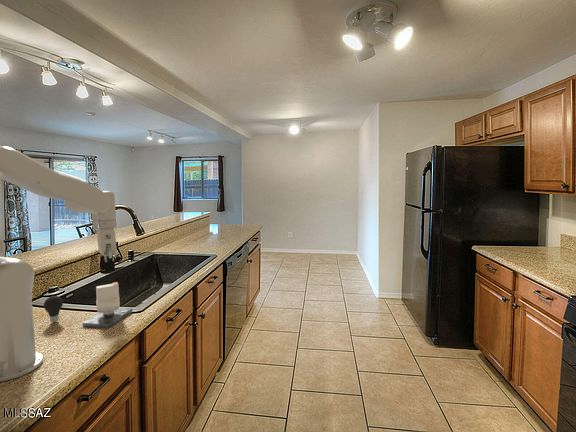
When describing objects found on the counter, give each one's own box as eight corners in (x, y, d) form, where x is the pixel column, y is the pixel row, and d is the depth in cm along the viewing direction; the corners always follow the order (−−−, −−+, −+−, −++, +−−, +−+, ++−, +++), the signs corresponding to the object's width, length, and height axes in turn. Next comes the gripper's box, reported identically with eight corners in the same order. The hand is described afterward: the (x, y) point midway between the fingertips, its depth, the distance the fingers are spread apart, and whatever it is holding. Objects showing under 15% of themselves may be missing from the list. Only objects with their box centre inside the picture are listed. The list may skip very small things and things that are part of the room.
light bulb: (67, 319, 115) (66, 294, 114) (55, 326, 109) (53, 299, 108) (54, 318, 115) (52, 293, 114) (40, 325, 110) (39, 298, 109)
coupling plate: (108, 328, 108) (108, 317, 108) (82, 326, 109) (82, 316, 109) (132, 312, 122) (131, 302, 122) (109, 310, 123) (108, 301, 123)
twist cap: (98, 314, 110) (97, 289, 109) (95, 307, 116) (94, 284, 115) (121, 309, 115) (120, 285, 114) (117, 302, 121) (116, 280, 120)
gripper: (121, 226, 108) (123, 272, 110) (111, 220, 121) (114, 261, 123) (96, 228, 103) (99, 276, 105) (89, 222, 116) (92, 265, 118)
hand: (107, 268), depth 114 cm, fingers open, 9 cm apart
